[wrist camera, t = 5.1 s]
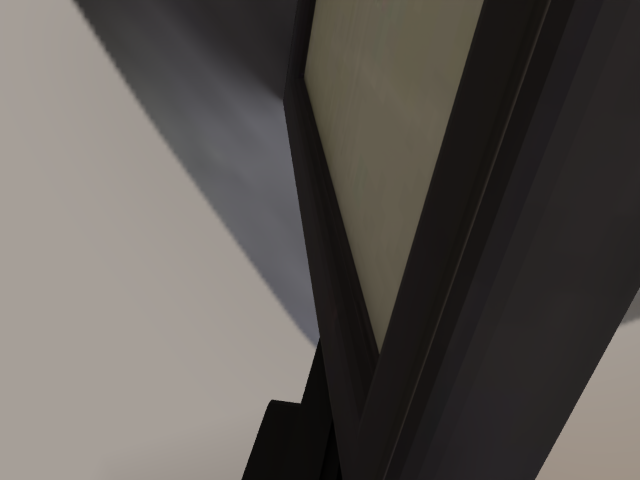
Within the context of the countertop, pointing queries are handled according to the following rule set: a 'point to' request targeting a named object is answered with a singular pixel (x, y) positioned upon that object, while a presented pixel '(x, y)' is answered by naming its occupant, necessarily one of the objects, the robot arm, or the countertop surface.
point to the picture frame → (464, 220)
